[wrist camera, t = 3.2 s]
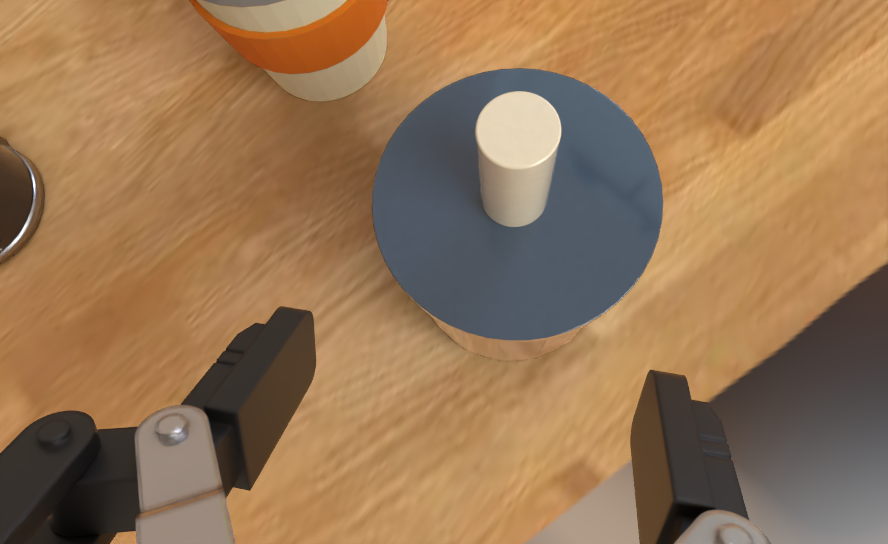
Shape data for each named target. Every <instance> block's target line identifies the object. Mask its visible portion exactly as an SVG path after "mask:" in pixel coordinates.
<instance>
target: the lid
mask: <svg viewBox="0 0 888 544" xmlns="http://www.w3.org/2000/svg"><path fill="white" fill-rule="evenodd" d="M662 214H663V194H662V183H661V179H660V175H659V170H658V166H657V164H656V161H655V158H654V156H653V153H652V151H651V148H650V147H649V145H648V143H647V141H646V139H645V138H644V136H643V134H642V133H641V131H640V130H639V129H638V127H637V126H636V125H635V123H634V122H633V120H632V119H631V118H630V117H629V116H628V115H627V114H626V113H625V112H624V111H623V110H622V109H621V108H620V107H619V106H618V105H617V104H616V103H614V102H613V101H612V100H610V99H609V98H608V97H607V96H605V95H604V94H602V93H601V92H599V91H597V90H596V89H594V88H592V87H591V86H589V85H587V84H585V83H582V82H580V81H578V80H576V79H574V78H571V77H567V76H564V75H561V74H558V73H554V72H548V71H543V70H537V69H523V68H516V69H500V70H494V71H488V72H483V73H479V74H476V75H472V76H469V77H466V78H464V79H461V80H459V81H456V82H454V83H452V84H450V85H448V86H446V87H444V88H442V89H441V90H439V91H437V92H435V93H434V94H433V95H431V96H430V97H429V98H427V99H426V100H424V101H423V102H422V103H421V104H420V105H418V106H417V107H416V108H415V109H414V110H413V111H412V112H411V113H410V114H409V115H408V116H407V117H406V118H405V120H404V121H403V122H402V123H401V124H400V126H399V127H398V128H397V130H396V131H395V133H394V134H393V136H392V137H391V139H390V141H389V142H388V144H387V146H386V148H385V150H384V153H383V155H382V157H381V159H380V162H379V166H378V169H377V172H376V175H375V181H374V186H373V193H372V216H373V226H374V230H375V235H376V239H377V243H378V246H379V248H380V251H381V253H382V256H383V259H384V261H385V263H386V264H387V266H388V268H389V270H390V272H391V273H392V275H393V277H394V278H395V280H396V281H397V282H398V283H399V285H400V286H401V287H402V289H403V290H404V291H405V293H406V294H407V295H408V296H409V297H410V298H411V299H412V300H413V301H414V302H415V303H416V304H417V305H418V306H419V307H420V308H422V309H423V310H424V311H426V312H427V313H428V314H430V315H431V316H432V317H434V318H435V319H437V320H439V321H440V322H442V323H444V324H446V325H447V326H449V327H451V328H453V329H456V330H458V331H461V332H463V333H466V334H468V335H472V336H475V337H479V338H483V339H487V340H494V341H502V342H531V341H538V340H546V339H550V338H554V337H557V336H561V335H565V334H567V333H570V332H572V331H575V330H577V329H579V328H582V327H584V326H586V325H587V324H589V323H591V322H593V321H594V320H596V319H598V318H599V317H601V316H602V315H604V314H605V313H606V312H607V311H609V310H610V309H611V308H613V307H614V306H615V305H616V304H617V303H618V302H619V301H620V300H621V299H622V298H623V297H624V296H625V295H626V294H627V293H628V292H629V291H630V290H631V289H632V288H633V286H634V285H635V283H636V282H637V281H638V279H639V278H640V277H641V275H642V274H643V272H644V270H645V268H646V267H647V265H648V263H649V261H650V259H651V257H652V255H653V252H654V249H655V247H656V244H657V241H658V238H659V233H660V228H661V223H662Z"/></svg>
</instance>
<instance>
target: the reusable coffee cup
mask: <svg viewBox="0 0 888 544" xmlns="http://www.w3.org/2000/svg"><path fill="white" fill-rule="evenodd" d="M387 1H388V0H190V2H191V3H192V5H193V6H194V7H195V9H196V10H197V12H198V13H199V14H200V15H201V16H202V17H203V18H204V19H205V20H206V21H207V22H208V23H209V24H210V25H211V26H212V27H213V28H214V29H215V30H216V31H217V32H218V33H219V34H220V35H221V36H222V37H223V38H224V39H225V40H226V41H227V42H228V43H229V44H230V45H231V46H232V47H233V48H234V49H235V50H236V51H237V52H238V53H240V54H241V55H242V56H243V57H244V58H245V59H246V60H248V61H249V62H251V63H253V64H255V65H257V66H258V67H260V68H263V69H264V70H265V71H266V72H267V73H268V74H269V75H270V76H271V77H272V79H273V80H274V81H275V82H276V83H277V84H278V85H279V86H281V87H282V88H283V89H284V90H285V91H286V92H288V93H290V94H292V95H293V96H295V97H298V98H301V99H304V100H308V101H317V102H321V101H332V100H336V99H340V98H343V97H346V96H348V95H350V94H352V93H354V92H356V91H357V90H359V89H360V88H362V87H363V86H365V85H366V84H367V83H368V82H369V81H370V80H371V79H372V78H373V77H374V75H375V74H376V72H377V71H378V70H379V68H380V66H381V64H382V62H383V60H384V57H385V53H386V48H387V33H386V22H385V10H386V6H387Z"/></svg>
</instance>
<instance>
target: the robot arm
mask: <svg viewBox="0 0 888 544" xmlns="http://www.w3.org/2000/svg"><path fill="white" fill-rule="evenodd" d="M43 206H44V186H43V182H42V178H41V176H40V174H39V172H38V170H37V168H36V167H35V165H34V164H33V163H32V162H31V161H30V160H29V159H28V158H26V157H25V156H24V155H22V154H20V153H18V152H17V151H15V150H13V149H11V148H9V146H8V142H7V140H6V139H4V138H2V137H1V136H0V264H2V263H4V262H5V261H7V260H9V259H10V258H11V257H13V256H14V255H15V254H16V253H17V252H18V251H19V250H20V249H21V248H22V247H23V246H24V245H25V244H26V243H27V242H28V240H29V239H30V237H31V236H32V235H33V233H34V231H35V229H36V228H37V225H38V223H39V221H40V218H41V215H42V211H43ZM315 368H316V351H315V335H314V320H313V314H312V312H311V311H307V310H301V309H295V308H289V307H283V306H281V307H279V308H278V309H277V310H276V311H275V312H274V314H273V315H272V316H271V318H270V319H269V320H268V322H267V323H266V324H260V323H255V324H253V325H252V326H250V327H248V328H247V329H245V330H244V331H242V332H240V333H239V334H237V336H236V337H235V338H234V339H233V341H232V342H231V343H230V344H229V345H228V347H227V348H226V351H224V352H223V353H222V354H221V355H220V357H219V358H218V359H217V362H216V363H214V364H213V365H212V366H211V368H210V369H209V370H208V371H207V373H206V374H205V375H204V376H203V378H202V379H201V380H200V381H199V382H198V384H197V385H196V386H195V387H194V389H193V390H192V391H191V392H190V394H189V395H188V396H187V397H186V398H185V400H184V401H183V402H182V403H181V405H175V406H170V407H166V408H163V409H161V410H158V411H156V412H155V413H153V414H151V415H150V416H148V417H147V418H146V419H145V420H144V421H143V422H142V423H141V424H140V425H139V426H138V427H128V428H114V429H99V430H97V429H96V426H95V423H94V420H93V419H92V417H91V416H89V415H88V414H86V413H84V412H80V411H62V412H57V413H53V414H50V415H47V416H45V417H43V418H40V419H38V420H37V421H35V422H33V423H32V424H30V425H29V426H28V427H26V428H25V429H24V430H23V431H22V432H21V433H20V434H19V435H18V436H17V437H16V438H15V439H14V440H13V441H12V442H11V443H10V444H9V445H8V446H7V447H6V448H5V449H4V450H3V451H2V452H1V453H0V544H110V543H111V541H112V540H113V538H114V537H115V535H116V534H117V532H128V531H136V538H137V544H235V540H234V535H233V530H232V526H231V521H230V516H229V512H228V507H227V502H226V497H227V496H228V494H229V493H230V491H231V489H232V488H233V487H235V488H240V489H245V490H249V491H250V490H251V488H252V486H253V485H254V483H255V481H256V479H257V478H258V476H259V474H260V472H261V471H262V469H263V467H264V465H265V464H266V462H267V460H268V458H269V457H270V455H271V453H272V451H273V450H274V448H275V446H276V444H277V443H278V441H279V439H280V437H281V436H282V434H283V432H284V430H285V429H286V427H287V425H288V423H289V422H290V420H291V418H292V416H293V415H294V413H295V411H296V409H297V407H298V406H299V404H300V402H301V400H302V399H303V397H304V395H305V393H306V392H307V390H308V388H309V386H310V384H311V382H312V380H313V377H314V373H315ZM726 442H727V439H726V436H725V432H724V428H723V425H722V422H721V420H720V419H719V417H718V416H717V415H716V414H715V412H714V411H713V410H712V408H711V407H710V406H709V405H708V403H707V402H701V401H695V400H691V396H690V391H689V387H688V383H687V379H686V377H685V376H684V375H678V374H672V373H667V372H661V371H655V370H650V371H649V372H648V374H647V377H646V380H645V383H644V387H643V390H642V393H641V396H640V399H639V402H638V405H637V409H636V412H635V415H634V418H633V422H632V428H631V440H630V443H631V456H632V465H633V476H634V487H635V496H636V497H635V498H636V508H637V518H638V529H639V540H640V544H771V543H770V541H769V540H768V538H767V537H766V536H765V534H764V533H763V532H762V531H761V530H760V529H759V528H758V527H757V526H756V525H754V524H753V523H751V522H750V521H749V518H748V514H747V511H746V507H745V504H744V500H743V496H742V493H741V489H740V486H739V482H738V479H737V475H736V471H735V468H734V464H733V461H732V460H731V453H730V450H729V446H728V444H727V443H726Z"/></svg>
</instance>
